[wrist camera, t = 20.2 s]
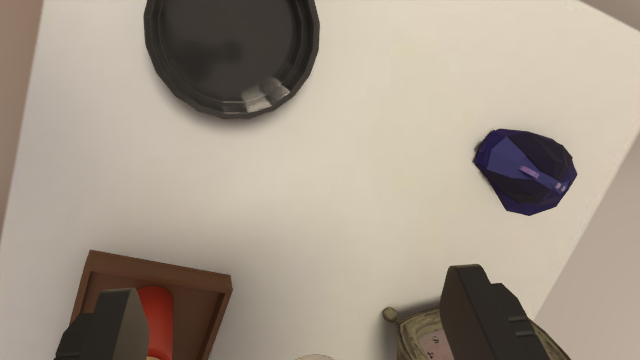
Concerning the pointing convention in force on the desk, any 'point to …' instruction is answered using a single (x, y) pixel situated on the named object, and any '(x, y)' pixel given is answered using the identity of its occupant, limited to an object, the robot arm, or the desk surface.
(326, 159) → the desk surface
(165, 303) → the doll
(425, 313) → the tabletop clock
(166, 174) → the desk surface
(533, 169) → the computer mouse
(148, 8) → the pan
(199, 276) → the tray
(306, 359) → the white cylinder
